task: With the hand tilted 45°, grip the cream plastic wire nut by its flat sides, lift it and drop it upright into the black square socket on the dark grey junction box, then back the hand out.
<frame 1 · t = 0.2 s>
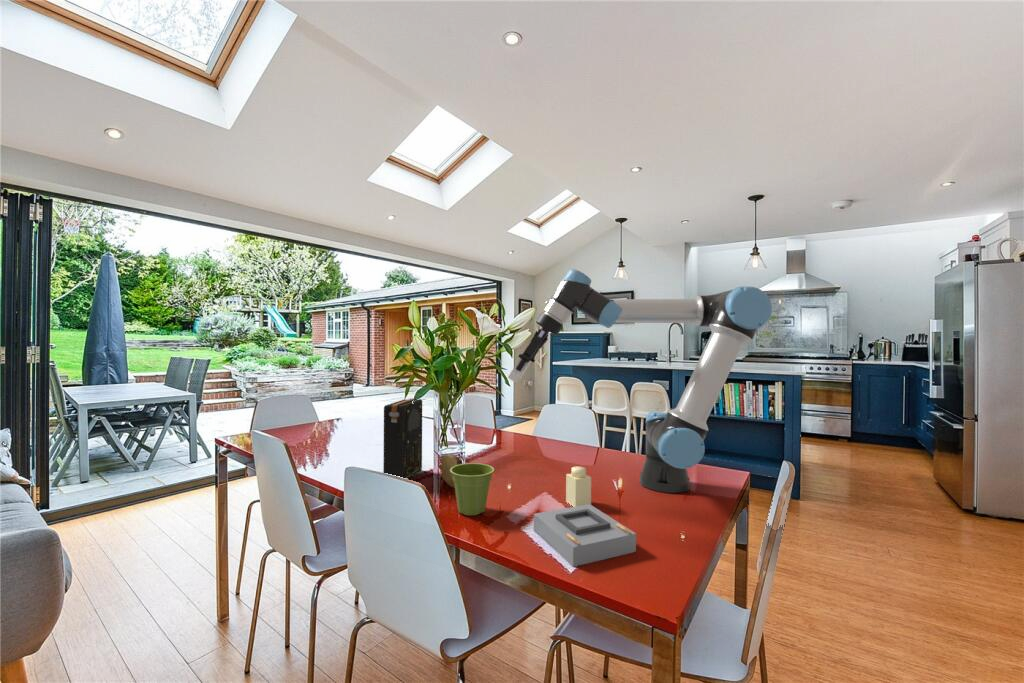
hand: (514, 378, 128), 34 cm above the table, tool tilted 30°, fingers open, 13 cm apart
junction box: (582, 540, 100), on the table
plant pot: (471, 511, 116), on the table
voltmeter: (403, 476, 144), on the table
wooden carving: (454, 487, 135), on the table
wire nut: (578, 504, 121), on the table
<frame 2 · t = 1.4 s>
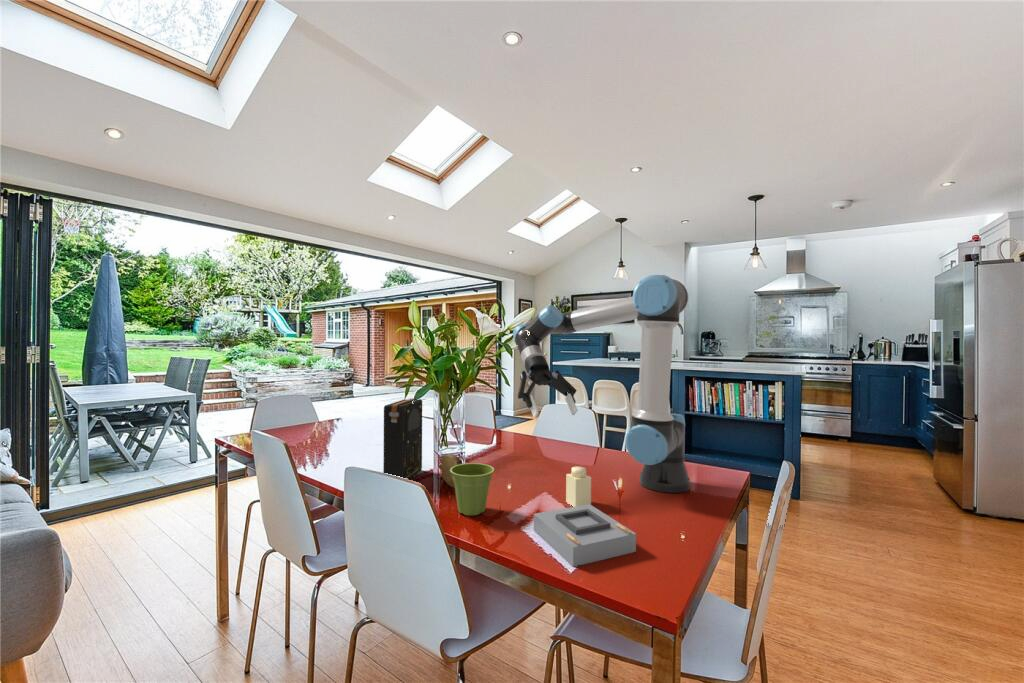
hand: (556, 414, 133), 23 cm above the table, tool tilted 45°, fingers open, 13 cm apart
nothing on the table moved.
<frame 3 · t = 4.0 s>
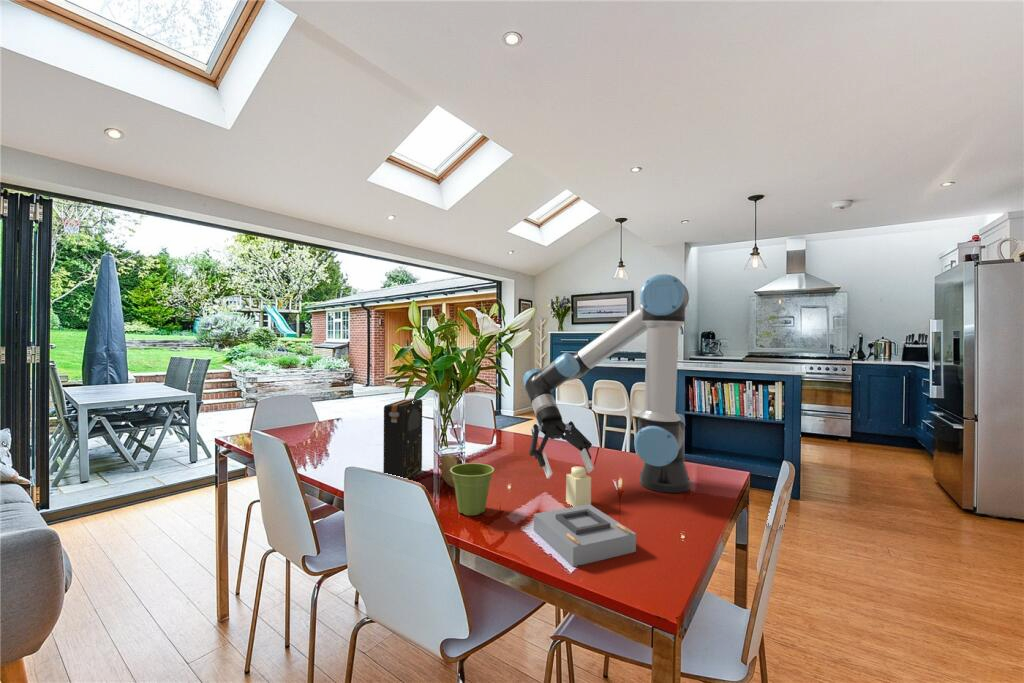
hand: (570, 473, 124), 8 cm above the table, tool tilted 45°, fingers open, 13 cm apart
nothing on the table moved.
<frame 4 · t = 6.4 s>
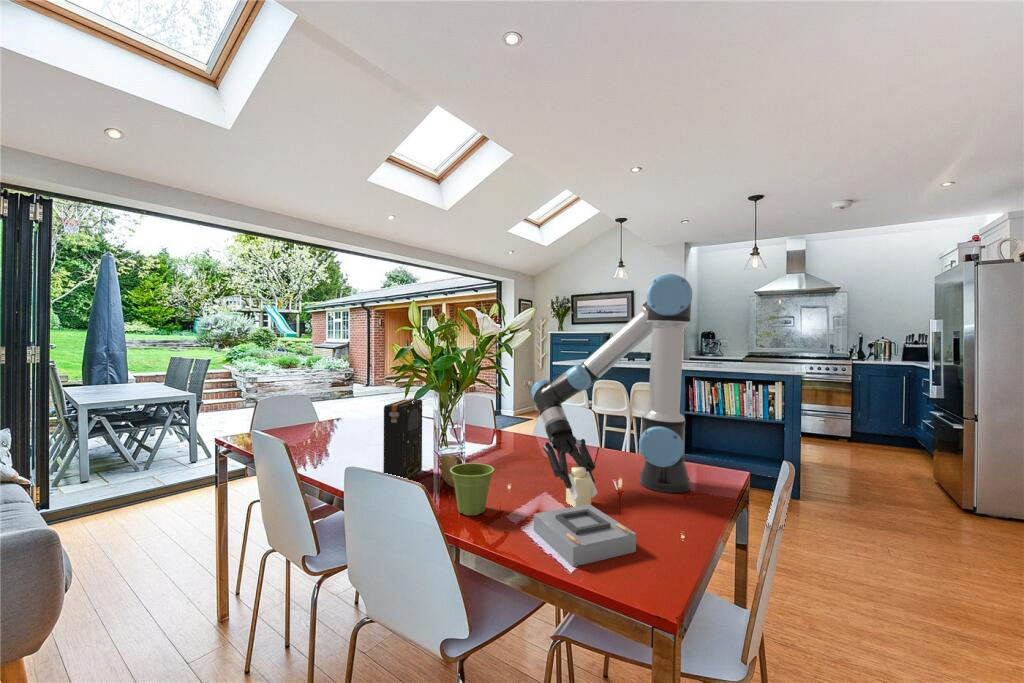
hand: (585, 496, 118), 3 cm above the table, tool tilted 45°, fingers closed on wire nut, 5 cm apart
wire nut: (578, 504, 121), on the table, touching gripper
everything else where it was.
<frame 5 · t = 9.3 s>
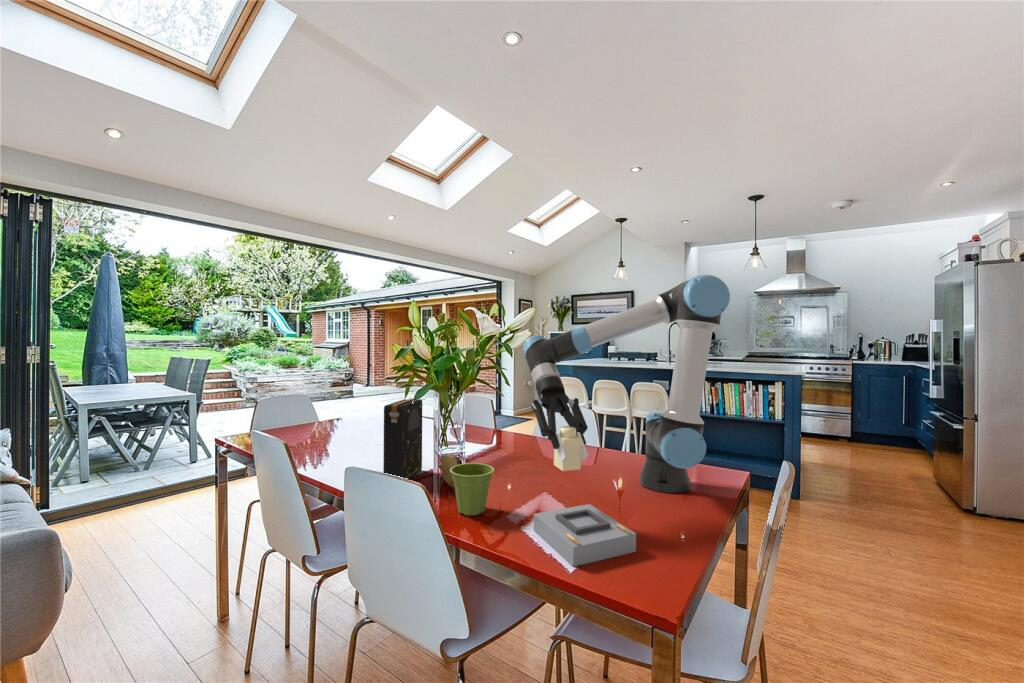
hand: (574, 458, 107), 17 cm above the table, tool tilted 45°, fingers closed on wire nut, 5 cm apart
wire nut: (566, 467, 110), point 14 cm above the table, touching gripper
everything else where it was.
when the fingers open (9 cm above the table, at t = 12.1 s): wire nut drops 2 cm, resting on junction box.
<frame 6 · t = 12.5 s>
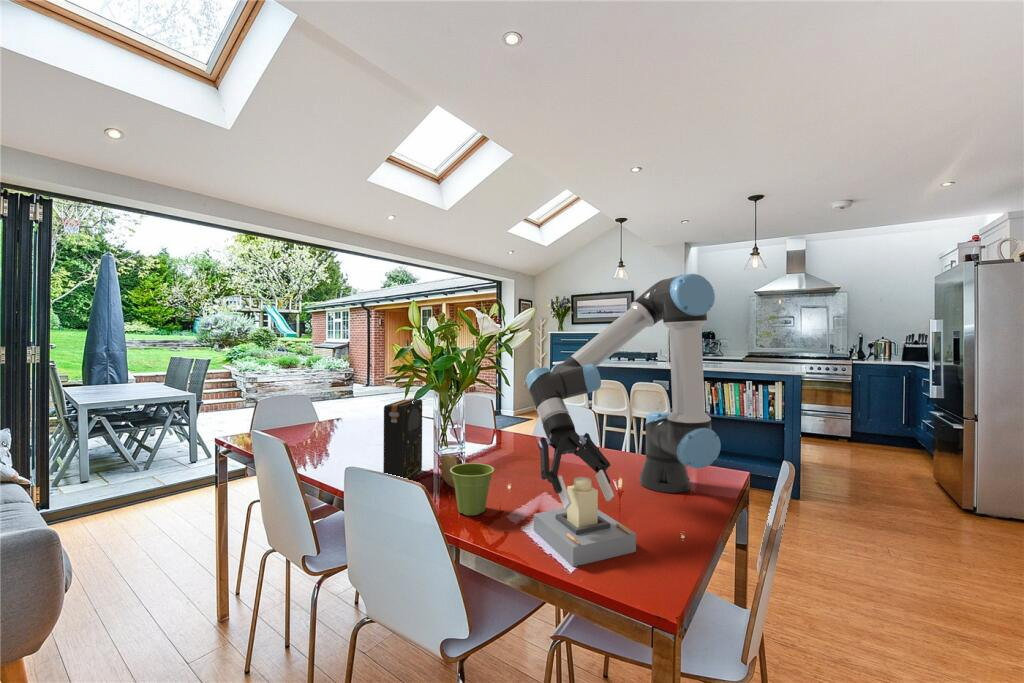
hand: (589, 502, 97), 10 cm above the table, tool tilted 45°, fingers open, 10 cm apart
wire nut: (582, 523, 100), point 4 cm above the table, touching junction box
everything else where it was.
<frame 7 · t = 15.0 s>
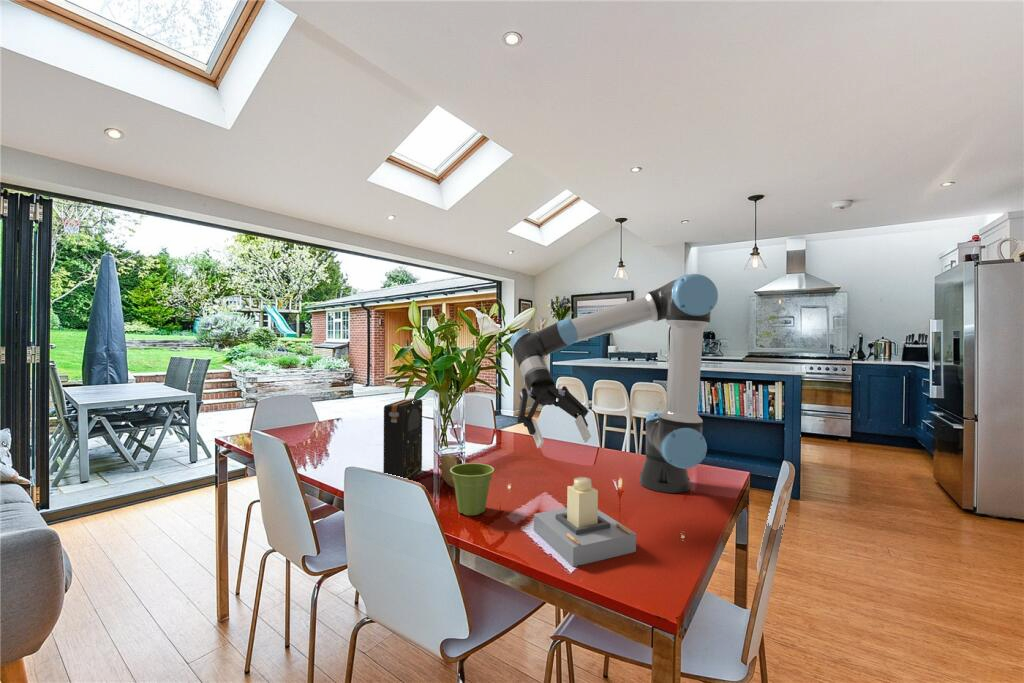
hand: (565, 442, 107), 21 cm above the table, tool tilted 45°, fingers open, 13 cm apart
nothing on the table moved.
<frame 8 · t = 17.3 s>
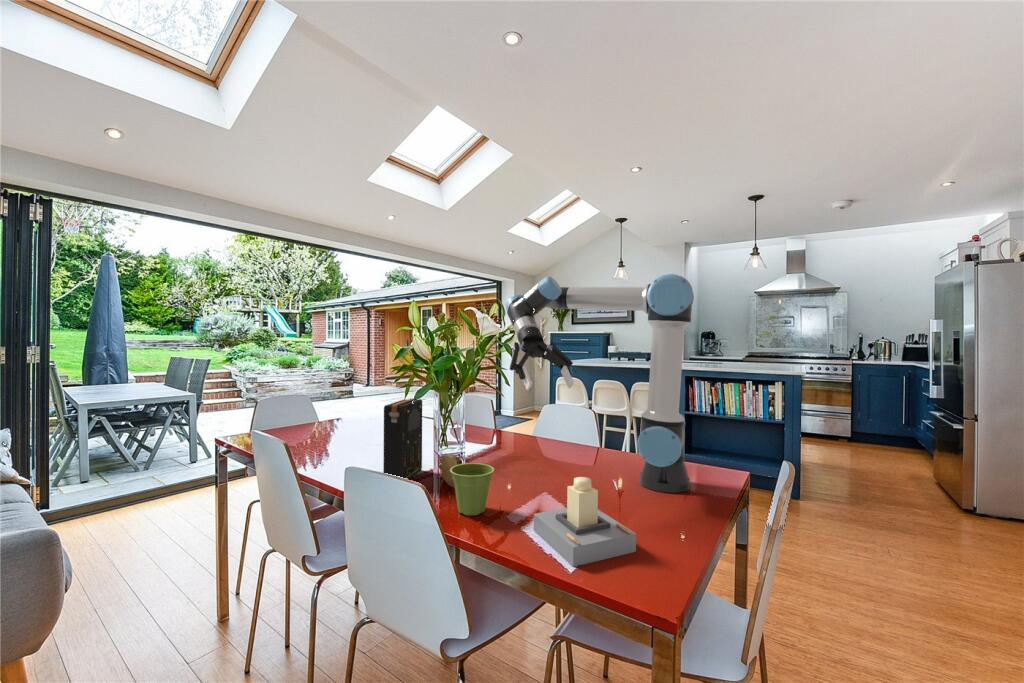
hand: (550, 386, 124), 33 cm above the table, tool tilted 45°, fingers open, 13 cm apart
nothing on the table moved.
at the end: wire nut 0.1 cm off-centre on the junction box, point 4.0 cm above the junction box's base; wire nut tilted 0°; the gripper is holding nothing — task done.
